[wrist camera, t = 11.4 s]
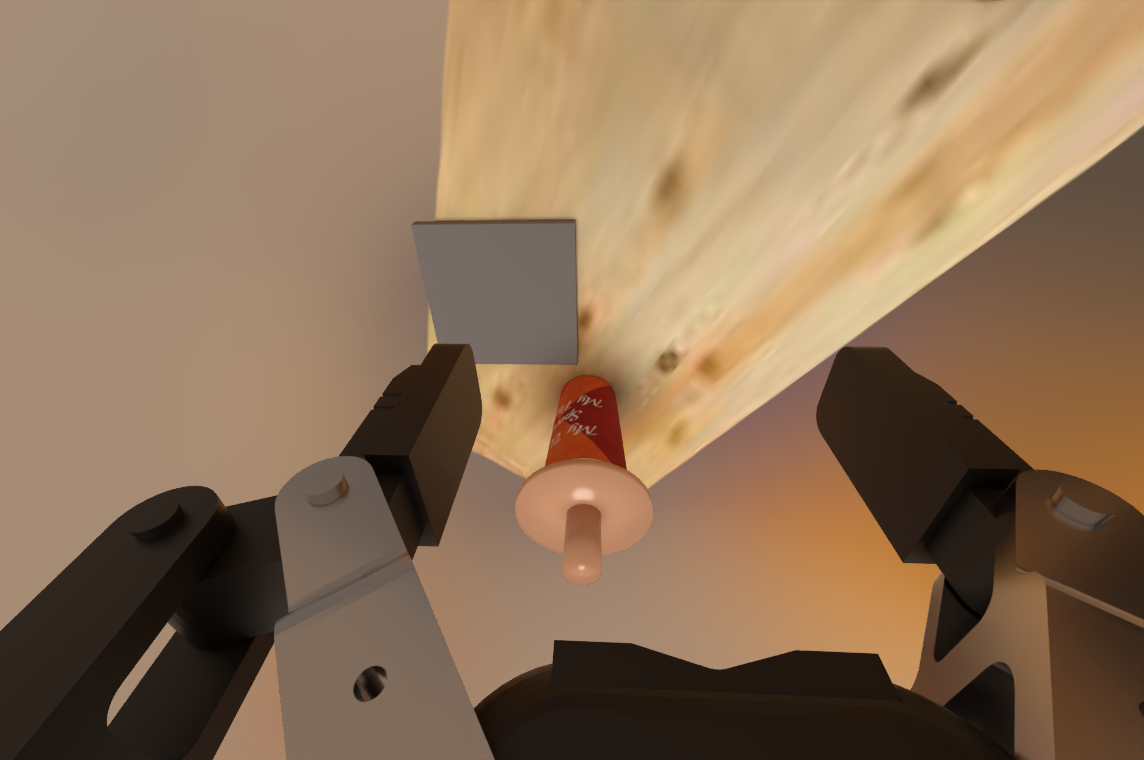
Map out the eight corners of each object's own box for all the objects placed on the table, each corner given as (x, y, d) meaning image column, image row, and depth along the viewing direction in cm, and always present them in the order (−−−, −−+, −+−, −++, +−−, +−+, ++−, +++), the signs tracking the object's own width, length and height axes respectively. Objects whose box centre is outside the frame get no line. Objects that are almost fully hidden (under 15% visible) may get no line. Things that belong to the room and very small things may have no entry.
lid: (657, 459, 32) (667, 525, 27) (647, 549, 38) (654, 616, 33) (509, 457, 33) (494, 522, 28) (523, 546, 39) (513, 612, 34)
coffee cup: (583, 352, 44) (577, 455, 32) (641, 394, 47) (656, 505, 35) (535, 401, 48) (513, 510, 36) (591, 438, 51) (589, 551, 39)
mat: (575, 220, 37) (574, 223, 36) (577, 359, 45) (577, 364, 44) (415, 221, 38) (411, 224, 37) (445, 358, 46) (442, 363, 45)
